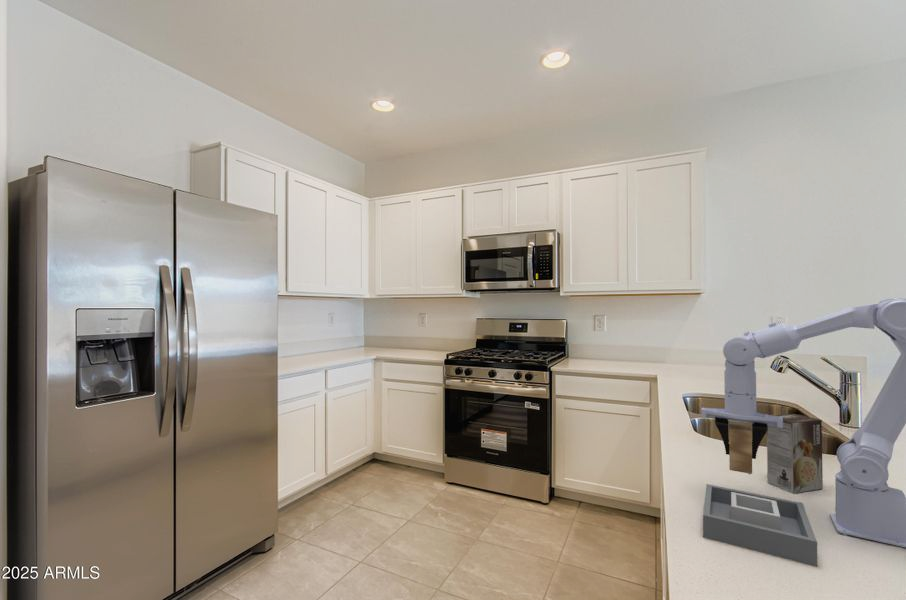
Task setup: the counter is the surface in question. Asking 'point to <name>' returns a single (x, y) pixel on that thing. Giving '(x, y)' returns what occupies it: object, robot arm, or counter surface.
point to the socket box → (759, 523)
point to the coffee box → (795, 454)
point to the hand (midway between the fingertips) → (740, 455)
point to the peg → (740, 448)
